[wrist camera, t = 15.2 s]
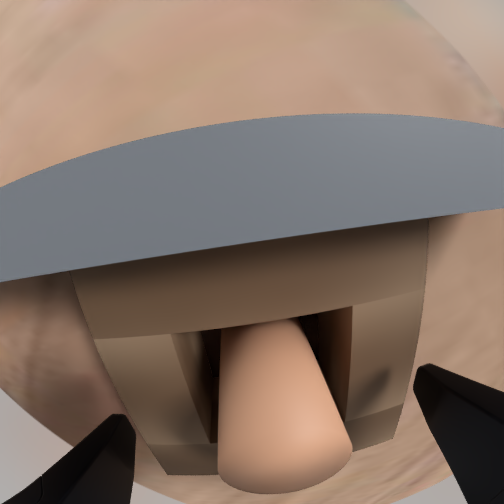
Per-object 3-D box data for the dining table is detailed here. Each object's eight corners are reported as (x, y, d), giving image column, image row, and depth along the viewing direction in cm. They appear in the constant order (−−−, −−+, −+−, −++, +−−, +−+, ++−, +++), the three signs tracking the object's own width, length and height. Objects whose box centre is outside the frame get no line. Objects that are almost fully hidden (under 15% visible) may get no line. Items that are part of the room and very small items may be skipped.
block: (363, 386, 14) (392, 438, 10) (177, 415, 13) (167, 474, 10) (368, 192, 11) (428, 206, 7) (116, 228, 11) (66, 259, 7)
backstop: (480, 181, 11) (573, 200, 5) (2, 250, 10) (-81, 296, 5) (478, 142, 10) (571, 147, 5) (-6, 211, 10) (-95, 242, 4)
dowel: (299, 349, 13) (346, 479, 6) (228, 360, 13) (231, 499, 6) (294, 285, 12) (359, 412, 5) (215, 297, 12) (202, 438, 5)
